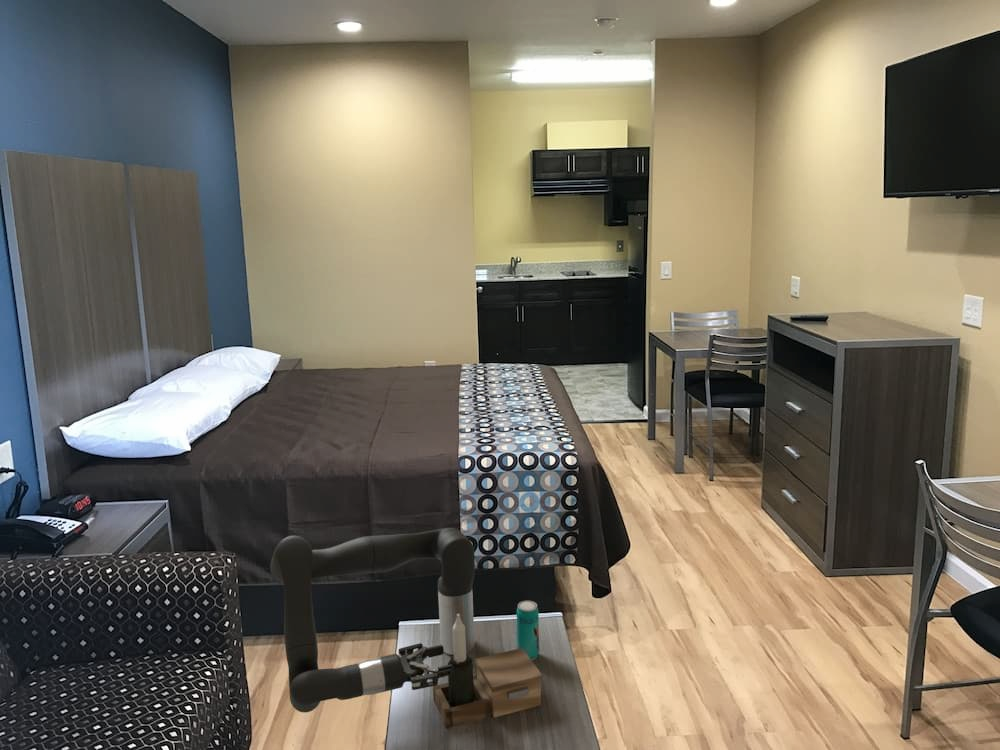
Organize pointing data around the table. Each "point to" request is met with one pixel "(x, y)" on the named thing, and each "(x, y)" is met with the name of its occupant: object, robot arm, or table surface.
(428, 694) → the table surface
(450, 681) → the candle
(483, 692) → the wooden box
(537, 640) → the beverage can
